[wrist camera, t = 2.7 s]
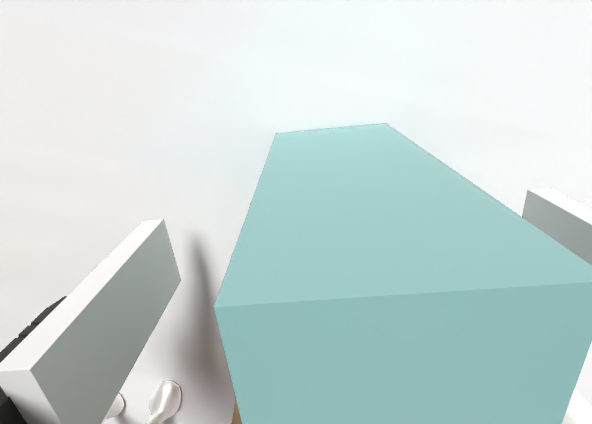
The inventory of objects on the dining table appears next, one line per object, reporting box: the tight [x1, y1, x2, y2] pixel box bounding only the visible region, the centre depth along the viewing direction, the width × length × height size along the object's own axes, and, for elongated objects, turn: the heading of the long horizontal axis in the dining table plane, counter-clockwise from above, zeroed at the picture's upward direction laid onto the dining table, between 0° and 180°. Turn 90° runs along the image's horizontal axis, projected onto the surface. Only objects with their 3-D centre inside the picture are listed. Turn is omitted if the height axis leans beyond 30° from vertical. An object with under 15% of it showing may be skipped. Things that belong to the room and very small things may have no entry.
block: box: [214, 123, 592, 424], centre depth 10 cm, size 5×7×11 cm, turn 5°
